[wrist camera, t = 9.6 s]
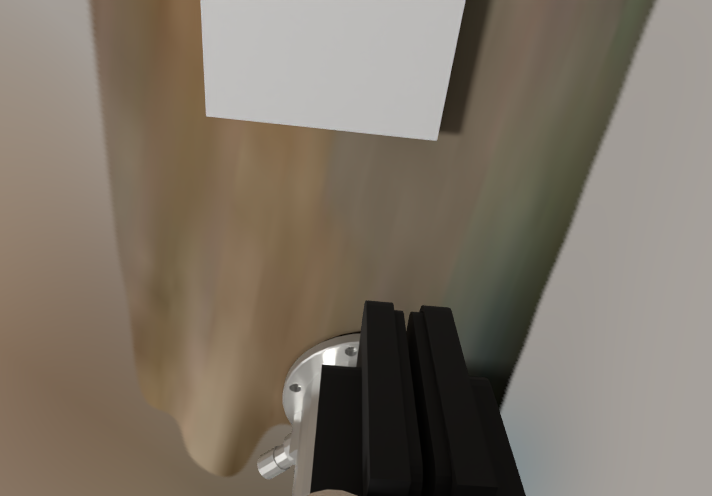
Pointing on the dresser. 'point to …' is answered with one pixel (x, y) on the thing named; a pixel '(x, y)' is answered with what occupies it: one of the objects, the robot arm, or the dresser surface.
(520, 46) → the dresser surface
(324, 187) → the dresser surface
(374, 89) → the grey plank
